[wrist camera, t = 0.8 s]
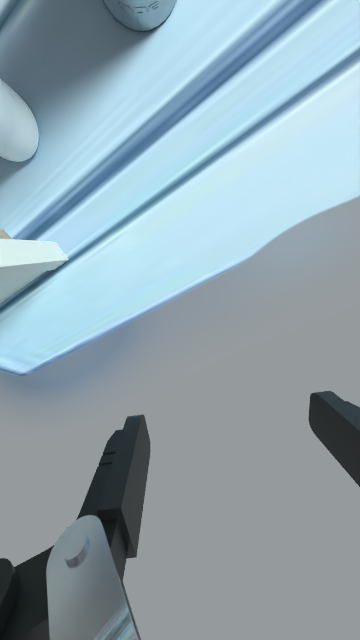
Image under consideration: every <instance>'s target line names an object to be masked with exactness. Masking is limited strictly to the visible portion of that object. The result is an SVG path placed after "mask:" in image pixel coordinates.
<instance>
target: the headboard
mask: <svg viewBox="0 0 360 640" xmlns="http://www.w3.org/2000/svg"><path fill="white" fill-rule="evenodd" d="M68 260H69V259H68V258H67V256H66V255H65V254H64V253H63V251H62V250H61V249H60V247H59V246H58V245H57V244H56V242H50V241H32V240H14V239H11V238H10V237H9V235H8V234H7V233H6V232H5V231H4V230H1V229H0V304H1V303H2V302H3V301H5V300H6V299H8V298H9V297H10V296H12V295H13V294H15V293H16V292H18V291H19V290H20V289H22V288H23V287H25V286H26V285H27V284H29V283H30V282H32V281H33V280H35V279H36V278H37V277H39V276H40V275H42V274H43V273H44V272H46V271H50V270H55V269H56V268H58V267H59V266H61V265H62V264H63V263H65V262H66V261H68Z"/></svg>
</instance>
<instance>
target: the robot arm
mask: <svg viewBox="0 0 360 640" xmlns="http://www.w3.org/2000/svg"><path fill="white" fill-rule="evenodd" d="M176 1H177V0H104V2H105V4H106V6H107V8H108V9H109V10H110V12H111V13H112V14H113V15H114V17H115V18H116V19H117V20H118V21H120V22H121V23H122V24H123V25H125V26H127V27H129V28H131V29H133V30H139V31H145V30H151V29H153V28H155V27H157V26H159V25H160V24H161V23H162V22H163V21H164V20H166V18H167V17H168V15H169V14H170V13H171V11H172V9H173V7H174V5H175V3H176ZM309 423H310V427H311V429H312V431H313V432H314V434H315V435H316V436H317V437H318V439H319V440H320V441H321V442H322V443H323V444H324V445H325V447H326V448H327V449H328V450H329V451H330V453H331V454H332V455H333V456H334V457H335V459H336V460H337V461H338V462H339V463H340V464H341V466H342V467H343V468H344V469H345V470H346V471H347V472H348V474H349V475H350V476H351V477H352V478H353V480H354V481H355V482H356V483H357V484H358V485H359V487H360V407H358V406H356V405H353V404H352V403H350V402H348V401H344V400H342V399H341V398H340V397H338V396H337V395H336V394H335V393H333V392H331V391H324V392H317V393H312V394H311V396H310V407H309ZM149 458H150V439H149V434H148V430H147V425H146V421H145V417H144V415H137V416H129V417H127V419H126V422H125V424H124V428H123V430H116V431H115V433H114V434H113V435H112V436H111V438H110V439H109V440H108V442H107V444H106V447H105V449H104V452H103V456H102V457H101V460H100V462H99V467H97V470H96V473H95V475H94V477H93V480H92V483H91V485H90V488H89V491H88V493H87V495H86V498H85V501H84V503H83V506H82V508H81V511H80V513H79V515H78V518H77V519H76V521H74V522H73V523H72V524H71V525H70V526H68V527H67V528H66V530H65V531H64V532H63V533H62V534H61V535H60V537H59V538H58V540H57V541H56V543H55V545H53V546H52V547H51V548H49V549H48V550H46V551H44V552H42V553H40V554H38V555H36V556H34V557H33V558H31V559H29V560H27V561H25V562H23V563H21V564H20V565H18V566H16V567H13V565H12V564H11V562H10V561H9V560H8V559H5V558H1V559H0V640H141V638H140V635H139V632H138V629H137V625H136V622H135V619H134V616H133V613H132V609H131V606H130V603H129V600H128V597H127V594H126V590H125V587H124V584H123V576H124V570H125V563H126V558H134V557H136V555H137V548H138V541H139V533H140V526H141V518H142V511H143V503H144V495H145V488H146V480H147V473H148V466H149Z"/></svg>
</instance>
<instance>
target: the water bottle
mask: <svg viewBox="0 0 360 640" xmlns="http://www.w3.org/2000/svg"><path fill="white" fill-rule="evenodd" d="M38 142H39V133H38V127H37V123H36V120H35V118H34V116H33V114H32V112H31V110H30V108H29V107H28V105H27V104H26V103H25V102H24V100H23V99H22V98H21V97H20V96H19V95H18V94H17V93H16V92H15V91H14V90H13V89H12V88H11V87H9V86H8V85H7V84H6V83H5V82H4V81H2V80H1V79H0V156H1V157H3V158H5V159H7V160H10V161H14V162H22V161H25V160H28V159H29V158H31V157H32V156H33V155H34V153H35V151H36V149H37V147H38Z"/></svg>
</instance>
